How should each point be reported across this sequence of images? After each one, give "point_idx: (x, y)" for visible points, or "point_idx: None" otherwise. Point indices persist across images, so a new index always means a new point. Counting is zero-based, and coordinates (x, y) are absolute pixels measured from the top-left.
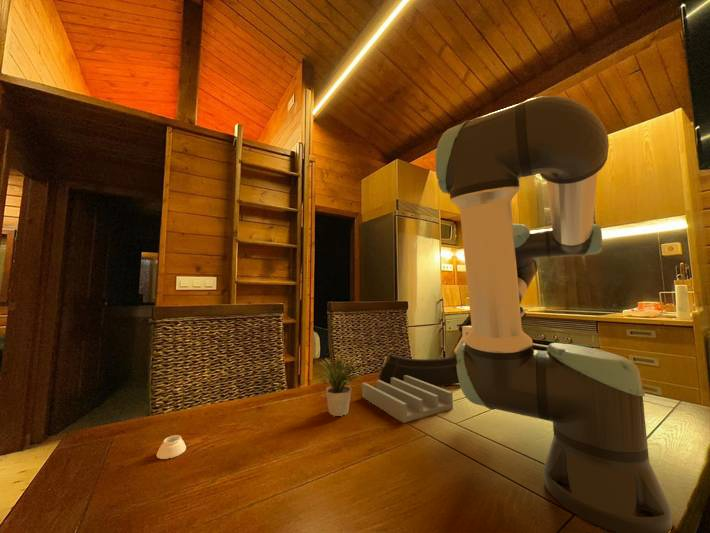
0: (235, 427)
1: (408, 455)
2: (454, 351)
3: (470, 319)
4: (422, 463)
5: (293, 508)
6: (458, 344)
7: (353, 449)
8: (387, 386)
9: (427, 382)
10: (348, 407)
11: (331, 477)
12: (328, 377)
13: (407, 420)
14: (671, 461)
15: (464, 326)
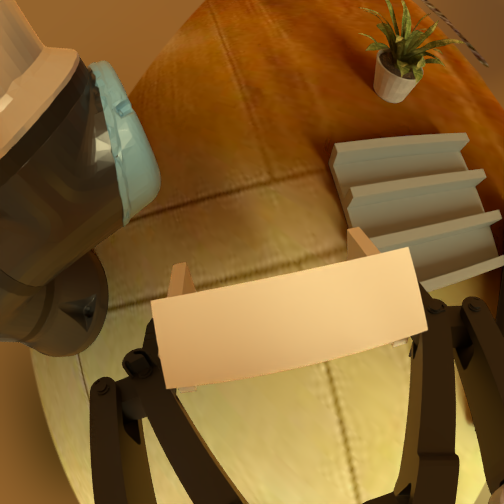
0: (354, 6)
1: (224, 126)
2: (356, 229)
3: (494, 387)
4: (199, 134)
5: (193, 31)
6: (370, 247)
7: (265, 74)
8: (451, 173)
9: (501, 327)
10: (387, 94)
11: (219, 51)
12: (413, 41)
13: (331, 170)
14: (85, 476)
15: (394, 255)
